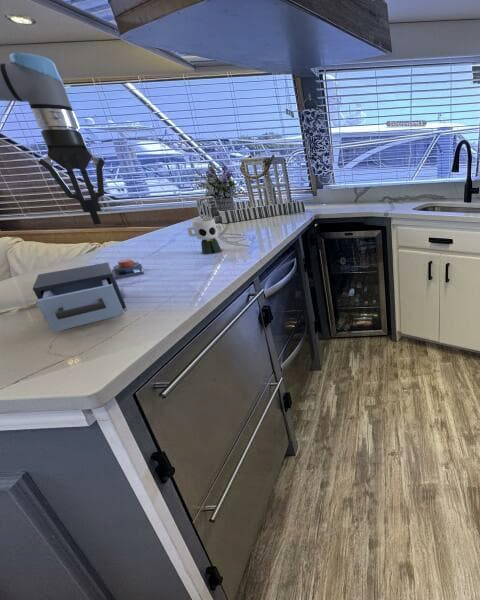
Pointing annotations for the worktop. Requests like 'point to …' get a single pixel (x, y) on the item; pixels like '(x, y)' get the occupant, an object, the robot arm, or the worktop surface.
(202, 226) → the character mug
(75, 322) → the drawer
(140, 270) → the panel
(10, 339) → the worktop surface
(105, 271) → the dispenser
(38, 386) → the worktop surface
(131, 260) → the button
